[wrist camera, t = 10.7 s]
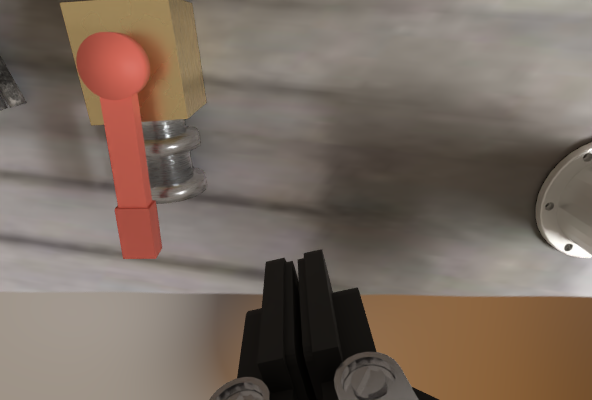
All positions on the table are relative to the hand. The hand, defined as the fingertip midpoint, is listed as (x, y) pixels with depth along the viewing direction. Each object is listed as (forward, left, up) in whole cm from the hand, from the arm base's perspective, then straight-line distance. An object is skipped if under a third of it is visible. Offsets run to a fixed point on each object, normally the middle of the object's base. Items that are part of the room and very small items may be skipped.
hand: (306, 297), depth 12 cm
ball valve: (+11, -6, -27) cm, 30 cm away
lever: (+11, 0, -18) cm, 21 cm away
